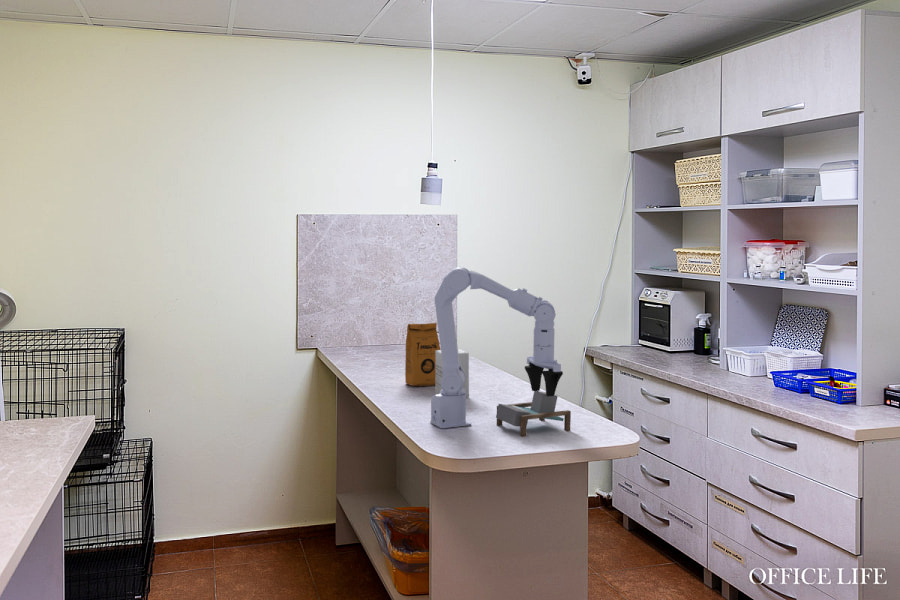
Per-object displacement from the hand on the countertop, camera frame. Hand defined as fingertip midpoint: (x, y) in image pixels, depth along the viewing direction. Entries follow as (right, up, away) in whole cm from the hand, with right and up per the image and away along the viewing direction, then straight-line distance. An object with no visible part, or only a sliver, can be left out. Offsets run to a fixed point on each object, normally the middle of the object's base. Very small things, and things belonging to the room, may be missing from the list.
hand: (542, 393), depth 221 cm
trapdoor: (-4, -8, -1) cm, 10 cm away
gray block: (0, -5, 0) cm, 5 cm away
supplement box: (-25, -6, +41) cm, 48 cm away
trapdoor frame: (-3, -9, -1) cm, 10 cm away
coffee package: (-35, -4, +59) cm, 69 cm away
